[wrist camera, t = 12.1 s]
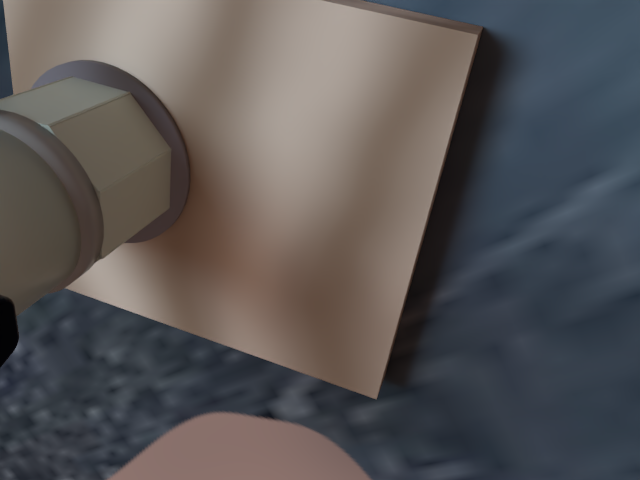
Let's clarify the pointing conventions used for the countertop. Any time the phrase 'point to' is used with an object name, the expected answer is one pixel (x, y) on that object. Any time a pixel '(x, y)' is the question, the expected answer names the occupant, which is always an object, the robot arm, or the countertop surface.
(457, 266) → the countertop surface
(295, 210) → the mounting board
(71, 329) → the countertop surface
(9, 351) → the robot arm
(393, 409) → the countertop surface
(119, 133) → the light bulb
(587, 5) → the countertop surface
